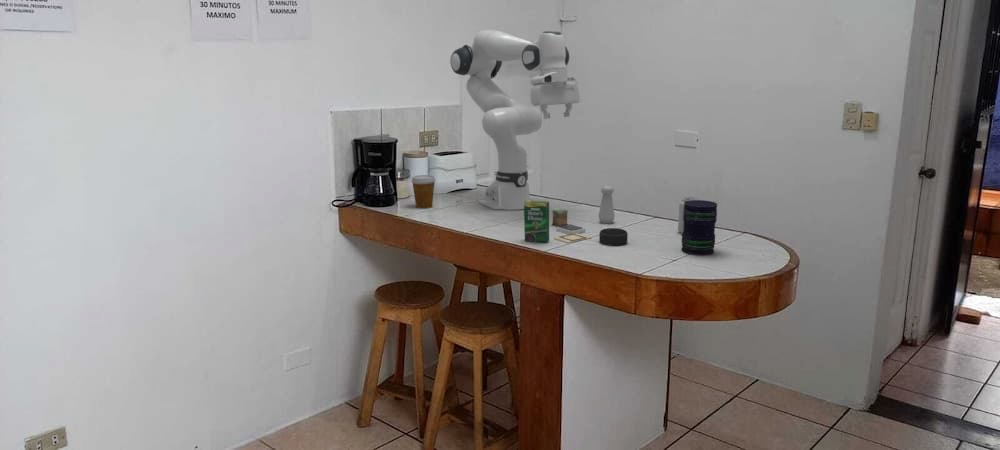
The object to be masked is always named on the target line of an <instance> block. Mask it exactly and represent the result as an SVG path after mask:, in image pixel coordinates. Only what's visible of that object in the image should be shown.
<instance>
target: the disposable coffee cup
mask: <svg viewBox="0 0 1000 450" xmlns="http://www.w3.org/2000/svg"><path fill="white" fill-rule="evenodd" d="M411 183H412V188H413V195H414V201H415V206H416V207H415V208H417V209H431V208H433V201H434V192H435V190H434V189H435V183H436V177H435V176H433V175H430V174H429V175H428V174H425V175H424V174H422V175H421V174H420V175H413V176H412V178H411Z"/></svg>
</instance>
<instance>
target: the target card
mask: <svg viewBox="0 0 1000 450" xmlns="http://www.w3.org/2000/svg"><path fill="white" fill-rule="evenodd" d="M553 239H554V240H557V241H561V242H563V241H564V242H563V243H566V242H567V244H572V243H576V242H581V241H585V240H589V239H590V240H591V239H592V237H591V236H587V235H584V234H582V233H579V234H578V233H575V234H565V235H560V236H558V237H557V236H556V237H553Z"/></svg>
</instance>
